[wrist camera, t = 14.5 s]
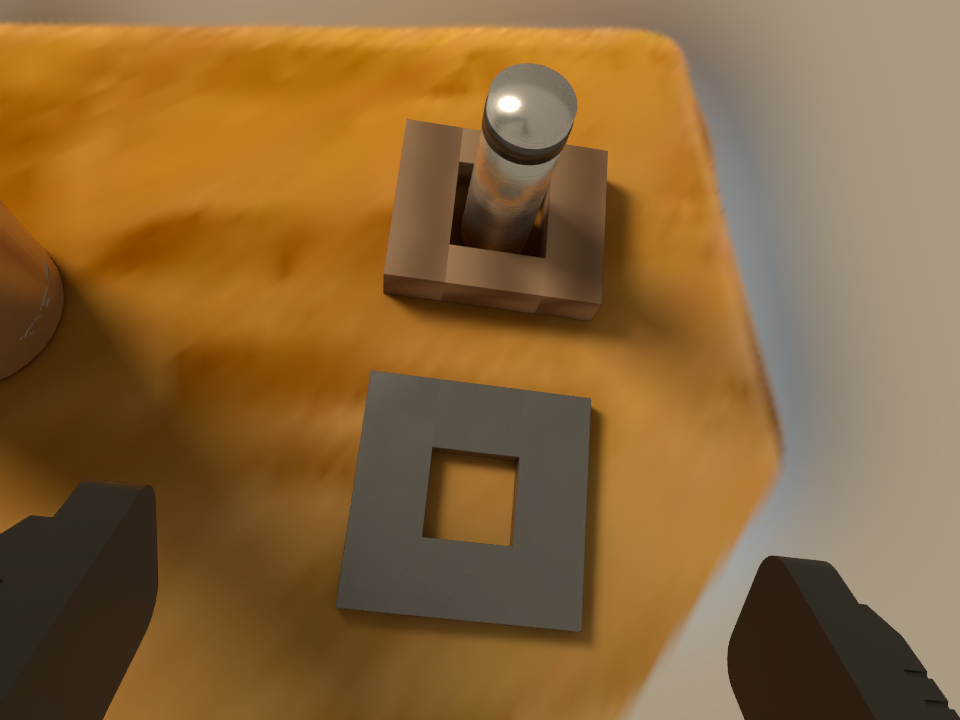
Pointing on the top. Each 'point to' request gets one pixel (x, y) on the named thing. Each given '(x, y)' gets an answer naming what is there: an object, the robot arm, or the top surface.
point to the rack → (484, 273)
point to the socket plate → (456, 564)
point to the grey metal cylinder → (516, 155)
